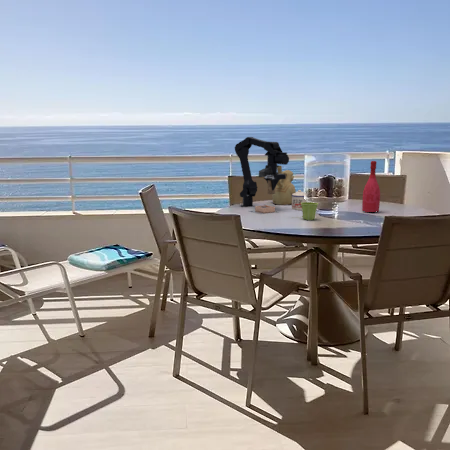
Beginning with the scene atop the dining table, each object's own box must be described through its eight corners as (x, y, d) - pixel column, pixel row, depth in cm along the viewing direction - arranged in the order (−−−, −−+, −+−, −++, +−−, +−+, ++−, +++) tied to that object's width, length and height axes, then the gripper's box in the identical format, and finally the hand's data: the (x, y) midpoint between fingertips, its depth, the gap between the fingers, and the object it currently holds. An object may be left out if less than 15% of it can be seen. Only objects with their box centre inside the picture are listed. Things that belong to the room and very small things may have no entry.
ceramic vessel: (300, 203, 331) (302, 164, 326) (288, 206, 314) (289, 166, 309) (277, 200, 339) (278, 163, 334) (264, 204, 323) (264, 165, 318)
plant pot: (299, 217, 277) (299, 201, 275) (316, 217, 277) (317, 202, 275) (300, 220, 268) (301, 204, 266) (318, 220, 268) (319, 204, 266)
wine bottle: (360, 212, 295) (363, 161, 289) (362, 210, 304) (366, 160, 298) (378, 213, 291) (381, 161, 286) (379, 211, 300) (383, 160, 295)
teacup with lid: (289, 210, 302) (290, 190, 300) (292, 207, 310) (293, 188, 308) (309, 211, 298) (310, 191, 296) (312, 209, 306) (313, 189, 304)
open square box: (255, 211, 290) (255, 206, 289) (266, 210, 294) (266, 205, 293) (263, 213, 283) (263, 208, 282) (274, 212, 287) (275, 207, 287)
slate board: (247, 212, 291) (247, 211, 291) (267, 210, 298) (267, 209, 298) (260, 215, 281) (260, 214, 281) (280, 213, 288) (280, 212, 288)
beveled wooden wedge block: (267, 193, 297) (268, 180, 296) (273, 193, 300) (273, 179, 298) (269, 194, 296) (270, 180, 294) (275, 193, 298) (275, 180, 296)
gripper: (251, 163, 298) (251, 189, 301) (271, 165, 282) (270, 192, 285) (266, 162, 304) (266, 188, 307) (286, 164, 288) (285, 191, 291)
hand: (271, 190), depth 297 cm, fingers closed on beveled wooden wedge block, 2 cm apart
